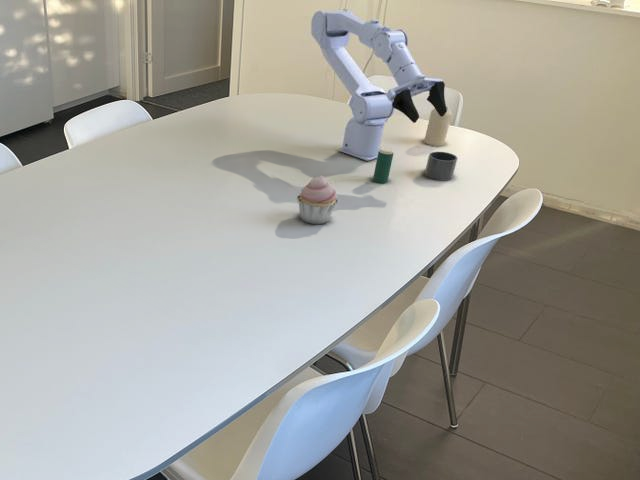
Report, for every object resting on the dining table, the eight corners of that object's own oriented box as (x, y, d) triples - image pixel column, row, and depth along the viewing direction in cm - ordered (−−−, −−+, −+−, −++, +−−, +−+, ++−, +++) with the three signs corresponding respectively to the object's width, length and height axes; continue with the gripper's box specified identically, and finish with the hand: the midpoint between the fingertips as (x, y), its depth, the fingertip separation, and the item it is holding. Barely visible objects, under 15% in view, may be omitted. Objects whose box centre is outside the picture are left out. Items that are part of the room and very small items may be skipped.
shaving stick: (369, 179, 184) (376, 148, 179) (378, 176, 185) (385, 145, 181) (381, 184, 181) (388, 152, 177) (390, 180, 183) (397, 149, 179)
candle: (441, 140, 209) (450, 104, 204) (446, 146, 205) (455, 110, 199) (422, 138, 210) (430, 103, 204) (426, 145, 205) (434, 109, 199)
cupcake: (343, 218, 164) (351, 176, 158) (320, 231, 158) (328, 187, 153) (308, 206, 169) (315, 164, 163) (285, 218, 164) (291, 175, 158)
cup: (419, 174, 187) (423, 155, 184) (434, 168, 191) (439, 149, 188) (442, 182, 183) (447, 163, 180) (457, 176, 187) (462, 157, 184)
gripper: (386, 65, 172) (411, 111, 168) (439, 54, 176) (464, 99, 171) (374, 86, 179) (398, 131, 175) (425, 75, 182) (450, 119, 178)
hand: (430, 116), depth 174 cm, fingers open, 7 cm apart
